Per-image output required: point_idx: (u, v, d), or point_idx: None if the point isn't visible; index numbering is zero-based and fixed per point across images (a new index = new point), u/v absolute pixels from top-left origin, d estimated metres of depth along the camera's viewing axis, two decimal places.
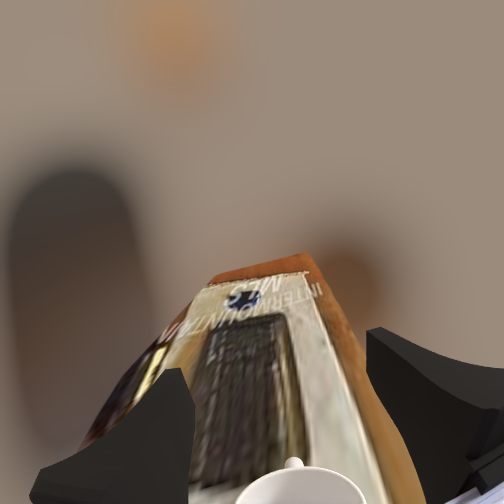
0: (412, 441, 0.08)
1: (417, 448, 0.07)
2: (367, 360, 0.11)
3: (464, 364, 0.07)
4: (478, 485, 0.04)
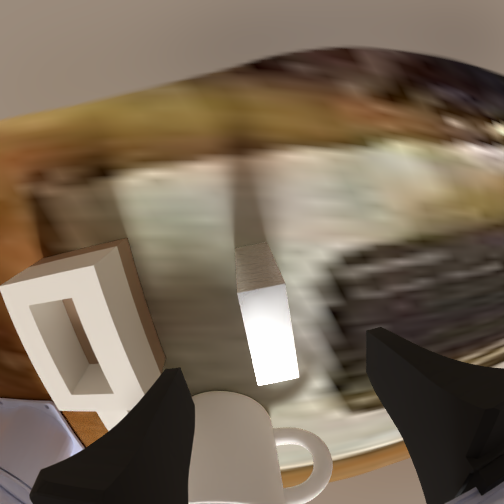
0: (412, 441, 0.08)
1: (417, 448, 0.07)
2: (367, 360, 0.11)
3: (464, 364, 0.07)
4: (478, 486, 0.04)
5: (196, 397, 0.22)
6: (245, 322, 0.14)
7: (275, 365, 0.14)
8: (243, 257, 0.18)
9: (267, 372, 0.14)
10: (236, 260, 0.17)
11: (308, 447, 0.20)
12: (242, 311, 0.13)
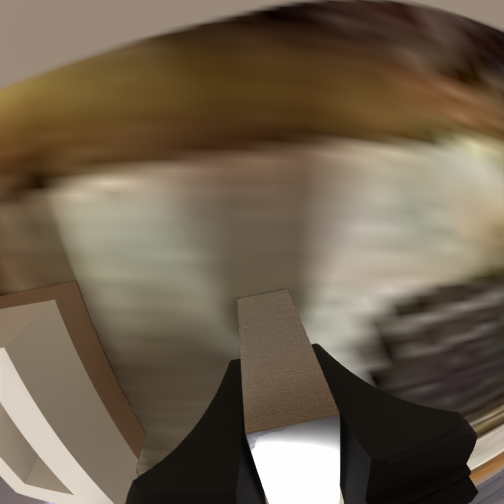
0: None
1: (340, 474, 0.07)
2: None
3: (384, 395, 0.07)
4: None
5: None
6: (260, 468, 0.06)
7: (305, 503, 0.07)
8: (252, 324, 0.10)
9: None
10: (240, 331, 0.10)
11: None
12: (255, 455, 0.06)
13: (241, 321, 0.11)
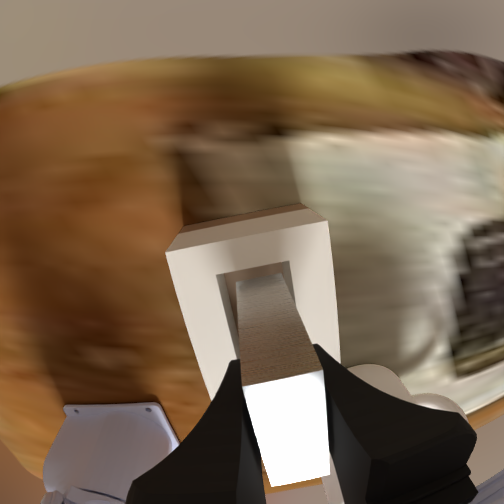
0: (337, 466, 0.08)
1: (340, 474, 0.07)
2: None
3: (384, 395, 0.07)
4: None
5: None
6: (255, 423, 0.08)
7: (298, 465, 0.08)
8: (249, 302, 0.12)
9: (286, 473, 0.09)
10: (238, 307, 0.12)
11: (442, 408, 0.19)
12: (250, 410, 0.08)
13: (239, 300, 0.12)
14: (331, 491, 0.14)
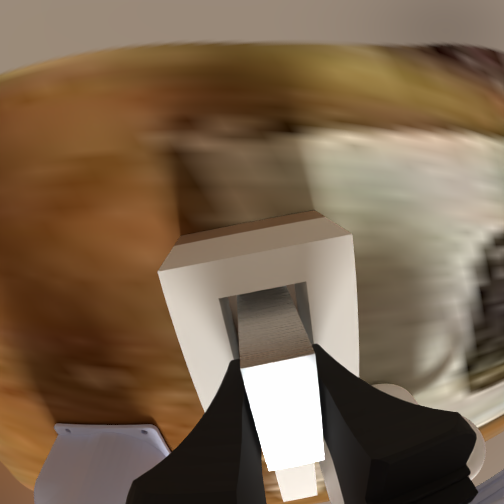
0: (337, 466, 0.08)
1: (340, 474, 0.07)
2: None
3: (384, 395, 0.07)
4: None
5: None
6: (253, 405, 0.08)
7: (294, 450, 0.09)
8: (247, 295, 0.13)
9: (282, 457, 0.09)
10: (238, 300, 0.12)
11: None
12: (248, 392, 0.08)
13: None
14: None
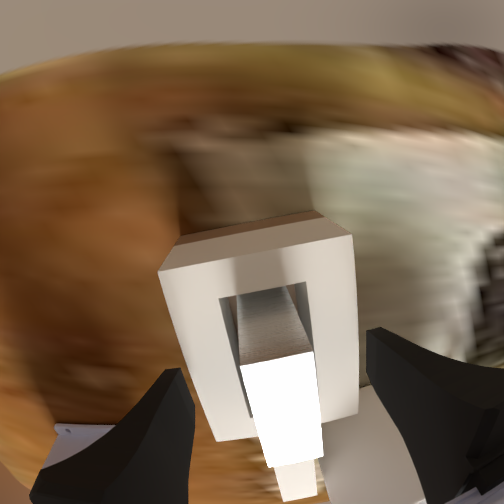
0: (412, 441, 0.08)
1: (417, 448, 0.07)
2: (367, 360, 0.11)
3: (464, 364, 0.07)
4: (478, 486, 0.04)
5: None
6: (252, 402, 0.09)
7: (293, 446, 0.09)
8: (247, 294, 0.13)
9: (281, 454, 0.09)
10: (238, 299, 0.12)
11: None
12: (248, 389, 0.09)
13: None
14: None
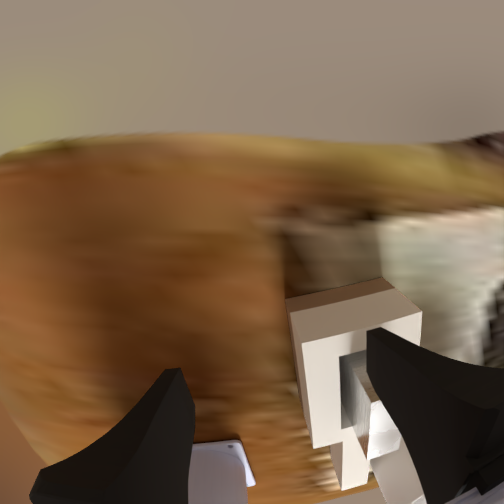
0: (412, 441, 0.08)
1: (417, 448, 0.07)
2: (367, 360, 0.11)
3: (464, 364, 0.07)
4: (478, 485, 0.04)
5: None
6: (371, 421, 0.13)
7: (384, 444, 0.14)
8: None
9: (377, 450, 0.14)
10: None
11: None
12: (371, 414, 0.13)
13: None
14: (394, 499, 0.17)
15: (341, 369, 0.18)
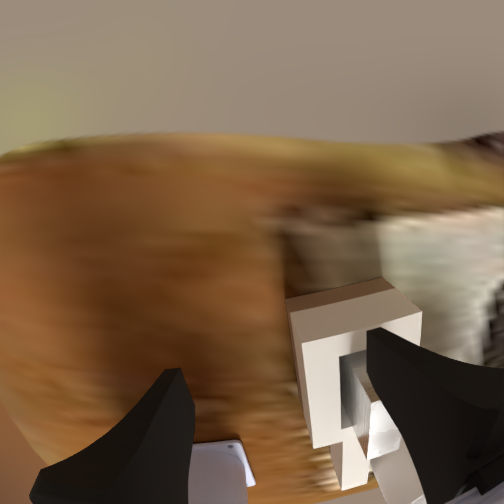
0: (412, 441, 0.08)
1: (417, 448, 0.07)
2: (367, 360, 0.11)
3: (464, 364, 0.07)
4: (478, 485, 0.04)
5: None
6: (371, 421, 0.13)
7: (384, 444, 0.14)
8: None
9: (377, 450, 0.14)
10: None
11: None
12: (371, 414, 0.13)
13: None
14: (394, 499, 0.17)
15: (341, 369, 0.18)
